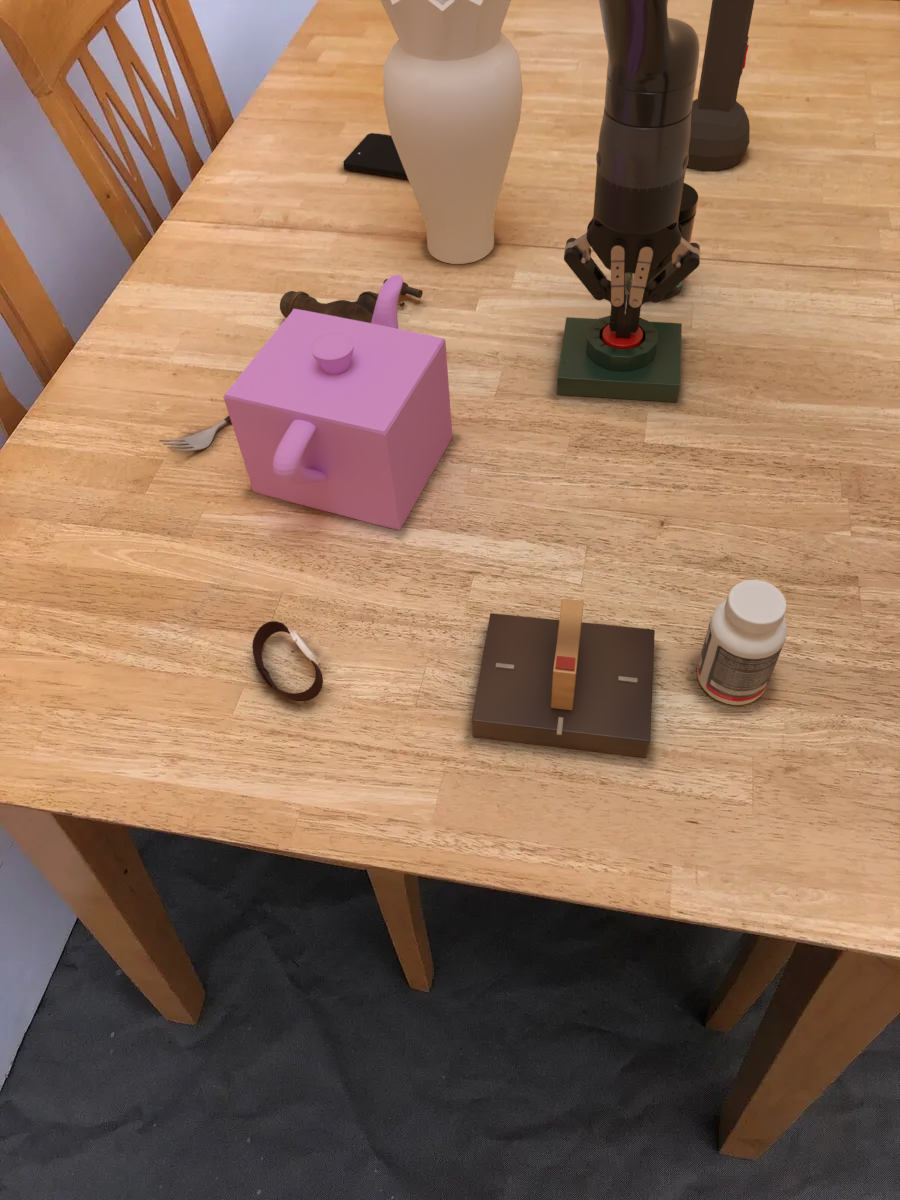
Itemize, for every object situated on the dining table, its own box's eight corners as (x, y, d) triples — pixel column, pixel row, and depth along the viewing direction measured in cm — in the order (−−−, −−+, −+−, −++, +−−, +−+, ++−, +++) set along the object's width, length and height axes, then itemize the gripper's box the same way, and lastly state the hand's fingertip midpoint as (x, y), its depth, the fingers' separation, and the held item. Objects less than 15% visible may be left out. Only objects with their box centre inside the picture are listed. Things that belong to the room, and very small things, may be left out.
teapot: (478, 391, 94) (473, 269, 83) (377, 570, 81) (355, 451, 70) (345, 363, 98) (323, 243, 87) (227, 528, 85) (184, 410, 74)
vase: (411, 290, 106) (382, 8, 83) (390, 224, 115) (359, -48, 92) (536, 269, 107) (541, -16, 84) (505, 205, 116) (502, -68, 93)
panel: (651, 643, 74) (655, 624, 72) (646, 762, 68) (650, 744, 66) (491, 627, 76) (490, 608, 74) (471, 741, 70) (470, 723, 68)
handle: (559, 637, 72) (562, 596, 68) (580, 639, 72) (584, 598, 68) (550, 708, 68) (553, 669, 64) (572, 711, 68) (576, 672, 64)
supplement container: (663, 309, 101) (677, 220, 93) (611, 288, 104) (619, 200, 96) (695, 279, 104) (710, 191, 96) (643, 260, 107) (654, 172, 99)
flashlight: (662, 167, 119) (741, 176, 117) (692, -59, 100) (787, -55, 97) (676, 131, 125) (751, 139, 123) (706, -90, 105) (796, -87, 103)
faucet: (263, 340, 102) (351, 287, 110) (382, 386, 94) (466, 325, 103) (255, 299, 98) (346, 247, 107) (378, 344, 91) (466, 284, 99)
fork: (303, 386, 97) (300, 370, 95) (178, 466, 90) (172, 451, 89) (287, 375, 98) (284, 360, 96) (163, 454, 91) (157, 439, 90)
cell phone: (467, 189, 119) (467, 182, 118) (342, 170, 123) (341, 163, 123) (491, 156, 124) (491, 149, 123) (369, 138, 128) (369, 132, 128)
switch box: (678, 340, 98) (684, 308, 95) (677, 402, 92) (682, 370, 89) (565, 334, 99) (567, 302, 96) (556, 394, 94) (557, 362, 90)
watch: (340, 688, 73) (332, 663, 71) (288, 719, 72) (279, 694, 69) (292, 626, 77) (284, 599, 75) (243, 654, 76) (232, 628, 73)
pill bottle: (781, 690, 71) (813, 614, 63) (722, 717, 70) (748, 643, 62) (739, 639, 74) (765, 561, 66) (682, 664, 73) (702, 587, 65)
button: (641, 336, 95) (643, 322, 93) (640, 361, 92) (642, 346, 91) (602, 334, 95) (603, 319, 94) (599, 358, 93) (601, 344, 91)
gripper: (721, 142, 80) (690, 313, 94) (567, 138, 82) (560, 306, 96) (721, 187, 75) (689, 360, 89) (559, 182, 77) (553, 352, 91)
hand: (622, 332), depth 92 cm, fingers closed
